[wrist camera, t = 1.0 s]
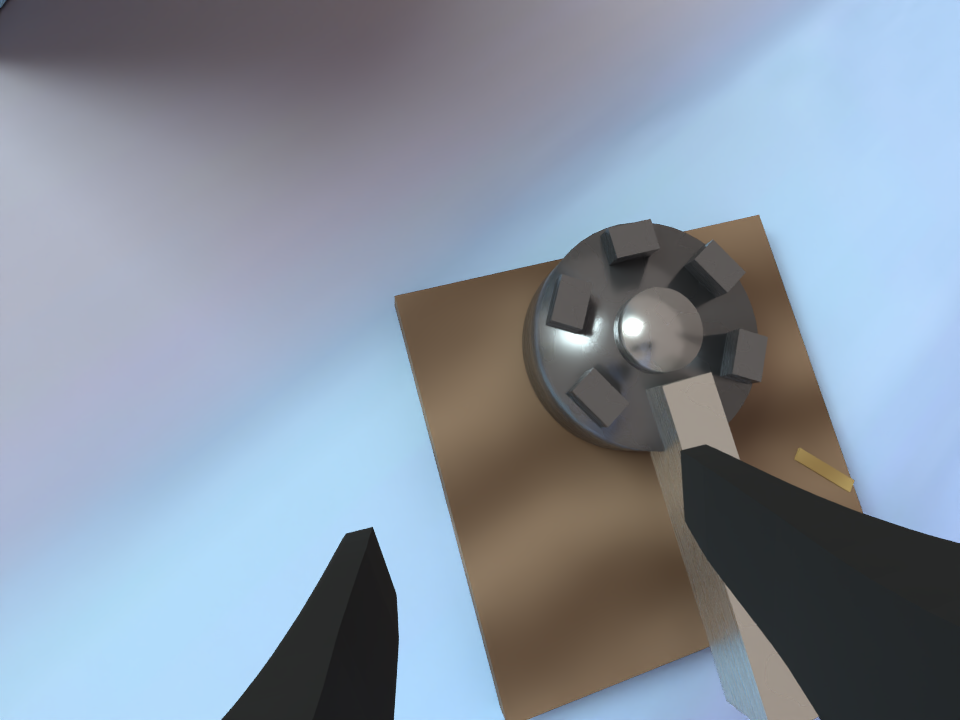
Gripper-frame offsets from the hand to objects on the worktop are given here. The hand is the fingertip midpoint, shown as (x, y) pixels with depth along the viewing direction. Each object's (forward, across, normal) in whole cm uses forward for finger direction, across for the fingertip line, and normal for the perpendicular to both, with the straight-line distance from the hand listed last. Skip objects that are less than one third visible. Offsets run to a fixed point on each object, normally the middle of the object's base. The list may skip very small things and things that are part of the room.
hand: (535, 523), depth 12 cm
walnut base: (+11, -6, +6) cm, 14 cm away
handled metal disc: (+9, -6, +5) cm, 12 cm away
